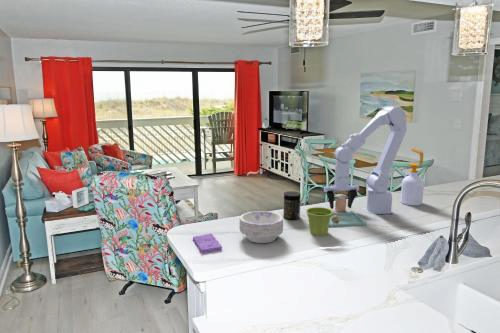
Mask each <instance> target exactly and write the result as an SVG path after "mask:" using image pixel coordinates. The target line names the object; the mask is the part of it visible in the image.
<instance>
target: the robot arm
mask: <svg viewBox="0 0 500 333" xmlns="http://www.w3.org/2000/svg"><path fill="white" fill-rule="evenodd" d="M407 117H408V115H407V113H406V111H405V110H404V108H402V107H400V106H394V105H393V106H392V105H385V106H384V107H382V109H381V110H378V112H377V113H376V115H375V116H374V117H373V118H371V120H370V121H369V122H368V123H367V124H366V125H365V127H363V129H361V131H360V132H355V133H354V134H352V133H351V134H350V135H349V137H348V139H347V140H346V141H345V142H344V143H342V144H341V146H339V147H337V148H336V149H335V150H334V152H333V156H334V158H335V165H334V166H335V168H334V184H333V185H329V186H328V185H327V186H323V192H324V193H325V194H326V196H327V199H328V203H329V209H330V210H333V209H334V208H335V204H334V202H335V195H336V194H335V193H334V192H347V208H349V209H351V208H352V205H353V203H354V201H355V199H356V197H357V195H358V192H359V191H360V186H359V185H356V184H354V185H353V184H350V168H351V166H350V163H351V162H350V161H352V159H353V157H354V156H353V155H354V154H355V153H356V152H358V151H359V149H361V148H362V147H363V145H365V144H366V139H367V138H368V137H369V136H371V134H373V133H374V132H375V131H376V130H377V129H379V128H380V126H385V125H388V127H389V129H390V130H391V132H390V133H389V136H388V138H387V141H386V143H385V145H384V148H383V150H382V152H381V155H380V158H379V160H378V162H377V165H376V166H375V167H373V169H372V171H371V172H370V174H368V175H367V177H366V181H365V182H366V184H367V186H368V188H367V196H366V197H367V198H366V199H367V200H366V207H365V206H364V207H362V208H363V209H364V210H365V211H367V212H368V213H369V214H375V215H383V214H385V215H387V214H393V211H392V207H393V205H392V204H393V195H392V192H391V190H389V187H390V179H391V173H390V171H391V168H392V166H393V164H394V162H395V159H396V156H397V155H398V152H399V150H400V147H401V144H402V143H403V140H404V138H405V135H406V133H407V131H408V130H407Z"/></svg>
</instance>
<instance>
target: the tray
mask: <svg viewBox="0 0 500 333" xmlns="http://www.w3.org/2000/svg"><path fill="white" fill-rule="evenodd" d="M334 215H337V216H339V218H340V221H339V223H333V222H332V220H331V218H332V216H334ZM331 218H330V223H329V227H330V228H331V227H332V228H333V227H347V226H348V227H351V226H352V227H353V226H366V225H367V222H366V221H365V220H364V219H363V218H362V217H361V216H360V215H358V214H357V213H356V212H355V211H354V212H353V211H351V212H348V211H347V212H343V213H340V212H333V214H332V215H331Z"/></svg>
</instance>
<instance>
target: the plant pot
mask: <svg viewBox="0 0 500 333" xmlns="http://www.w3.org/2000/svg"><path fill="white" fill-rule="evenodd" d="M305 213H306V214H307V218H308V226H309V233H310V234H311V235H312V236H316V237H323V236H327V235H328V233H329V223H330V218H331V215H332V214H333V213H334V211H333V209H331V208H327V207H322V206H321V207H319V206H315V207H309V208H307V209H306V210H305Z"/></svg>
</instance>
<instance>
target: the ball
mask: <svg viewBox="0 0 500 333" xmlns="http://www.w3.org/2000/svg"><path fill="white" fill-rule="evenodd" d="M331 220H332V222H333V223H339V221H340V218H339V216H337V215H334V216H332V218H331Z"/></svg>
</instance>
